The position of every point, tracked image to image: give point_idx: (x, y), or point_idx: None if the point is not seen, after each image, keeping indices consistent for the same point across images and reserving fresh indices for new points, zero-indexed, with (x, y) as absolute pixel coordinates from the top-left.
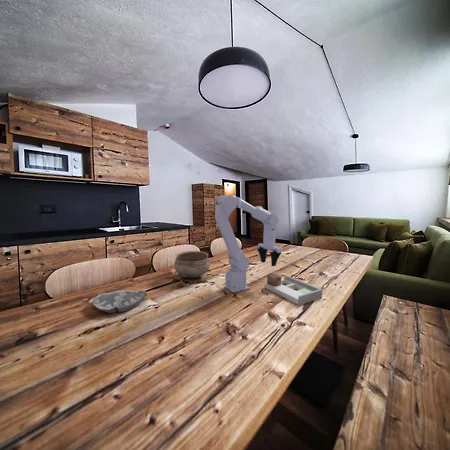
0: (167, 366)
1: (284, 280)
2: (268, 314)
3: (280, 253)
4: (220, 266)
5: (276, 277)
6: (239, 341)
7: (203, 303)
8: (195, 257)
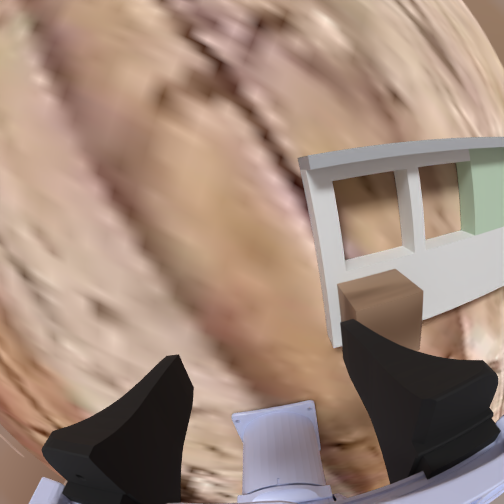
0: None
1: (332, 189)
2: None
3: (487, 377)
4: (10, 376)
5: (420, 330)
6: None
7: (339, 489)
8: None
